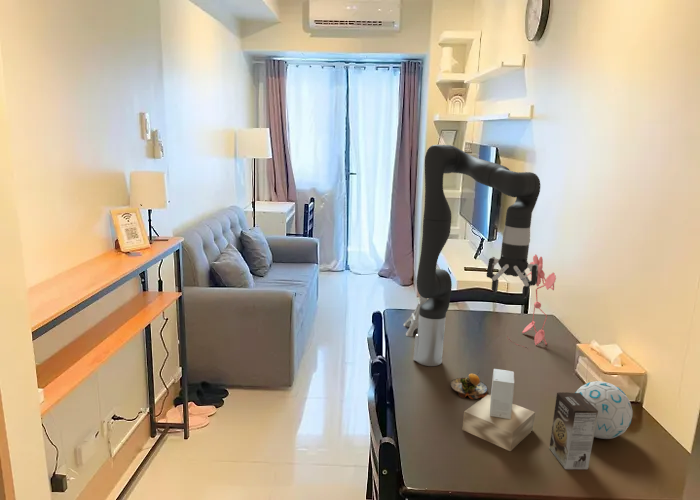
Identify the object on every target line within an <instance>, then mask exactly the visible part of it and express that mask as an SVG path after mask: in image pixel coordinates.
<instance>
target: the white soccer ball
mask: <svg viewBox="0 0 700 500" xmlns="http://www.w3.org/2000/svg"><path fill="white" fill-rule="evenodd" d="M574 393H580V394H581V395H582V396H583V397H585V398H586V399H587V400H588V401H589V402H590V403H591V404H592V405H593V406H594V407H595V408H596V409H597V410H598V415H597V421H596V427H595V432H594V438H597V439H604V440H610V439H614V438H617V437H620V436H621V435H623V434H624V433H625V432H626V431H627V430H628V429H629V427H630V425H631V423H632V420H633V419H632V418H633V413H634V411H633V408H632V403H631V401H630V399H629V397H628V396H627V395H626V393H625V392H624V391H623V390H622V389H620V387H618V386H617V385H614V384H613V383H611V382H606V381H601V380H596V381H589V382H587V383H585V384H583V385H581V386H580V387H579V388H577V390H576V391H575V392H574Z"/></svg>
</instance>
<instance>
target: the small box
mask: <svg viewBox="0 0 700 500" xmlns="http://www.w3.org/2000/svg"><path fill="white" fill-rule="evenodd" d="M491 381H492V382H491V391H490V395H491V400H490V416H493V417H499V418H505V419H511V413H512V403H513V402H514V392H515V383H516V382H515V371H512V370H505V369H499V368H493V372H492V380H491ZM513 404H514V403H513Z"/></svg>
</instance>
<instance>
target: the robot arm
mask: <svg viewBox="0 0 700 500" xmlns="http://www.w3.org/2000/svg"><path fill="white" fill-rule="evenodd" d="M452 173H454V174H461V175H467V176H469V177H470V178H472V179H473V180H474V181H475V182H477V183H479V184H482V185H484V186H486V187H489V188H493V189H496V190H497V191H499V192H500V193H502V194H504V195H505V196H508V197H510V198H511V197H512V198H515V201H514V202H513V204H511V205H509V206H508V207H507V208H506V213H505V214H506V215H505V222H504V228H503V233H502V241H501V249H500V258H496V257H495V256H492V257H490V258H489V259H488V264H487V270H486V277H487V278H489V279H491V282H492V283H491V291H493V293H495V294H496V293H497V292H498V289H499V278H500V277H502V275H503V274H504V275H506V276H513V277H518V278H519V279H520V280H521V282H522V283H523V287H522V288H523V289H522V296H521V297H522V299H526V298H527V297H528V296H529V294H530V287H533V286H535V285H536V283H537V278H538V264H530V263H529V262H528V256H529V249H530V243H531V225H532V218H533V215H532V214H533V211H534V209H535V207H536V204H537V202H538V199H539V196H540V192H541V180H540V178H539V176H538V175H537V174H536V173H534V172H529V171H527V172H526V171H525V172H519V171H517V172H516V171H512V170H511V169H510V168H508V167H507V166H504V165H502V164H500V163H499V164H498V163H496V162H492V161H490V160H489V161H488V160H486V159H482V158H478V157H476V156H474V155H471V154H469V153H467V152H466V151H463V150H462V149H460V148H458V147H456V146H454V145H451V144H432V145H430V146H429V147H428V148H427V150H426V153H425V156H424V208H423V219H422V220H423V221H422V236H421V237H422V238H421V239H422V240H421V246H420V247H421V249H420V257H419V263H418V269H417V275H416V289H417V293H418V295H419V297H420V296H421V297H423V298H428V300H427V301H426V302H425V303H423V304H422V305H421V306H420V309H419V322H418V327H417V333H416V334H415V336H414V349H413V359H412V360H413V361H415V362H416V363H418V364H419V365H422V366H426V367H427V366H428V367H436V366H439V365H441V364H442V362H443V352H444V342H445V341H444V340H445V329H446V319H447V317H446V316H447V312H448V310H449V308H450V301H451V296H452V295H451V294H452V287H453V286H452V285H453V283H452V277H451V275H450V273H449V272H448V270H445V269H443V268H439V269H438V268H437V263H438V259H439V257H440V254H441V252H442V251H443V250H444V247H445V245H446V244H447V242H448V239H449V237H450V235H451V226H452V211H451V207H450V205H449V203H448V201H447V198H446V196H445V193H444V174H452ZM497 264H498V265H499V267H500V270H499V271H497V272H496V273H494V270H495V266H497ZM527 269H529V272H532V278H531V277H530V279H529V277H528V276H527V275H528V274H527V273H526V270H527Z"/></svg>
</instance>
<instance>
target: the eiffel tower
mask: <svg viewBox="0 0 700 500" xmlns="http://www.w3.org/2000/svg"><path fill="white" fill-rule="evenodd" d="M427 300H428V298H423V297H421V296H420V295H419V300H417V305H416V307H415V310H414V311H413V312H411V316H410V317H409V318H408V319H407V320H406V321H405V322H404V323H403V327H406V328H408V327H409V328H408V330H407V331H406V332H405V335H406V337H414V332H415V330H416V329H418V322H419V309H420V306H421V305H422V304H423V303H425V302H426V301H427Z"/></svg>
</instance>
